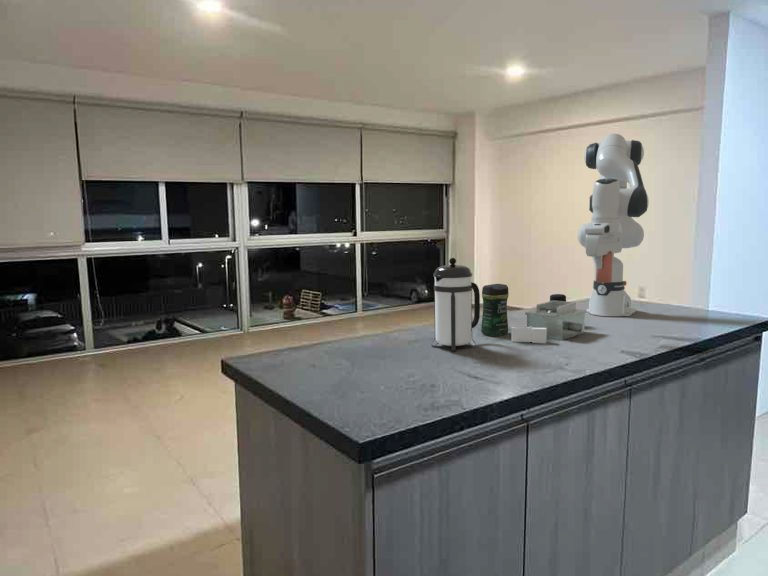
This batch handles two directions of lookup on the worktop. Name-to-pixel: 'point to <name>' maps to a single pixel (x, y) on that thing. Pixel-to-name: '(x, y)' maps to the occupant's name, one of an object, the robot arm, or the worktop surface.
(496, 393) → the worktop surface
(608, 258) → the spout can
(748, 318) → the worktop surface
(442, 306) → the coffee press
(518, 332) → the white stepped block
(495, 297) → the coffee jar
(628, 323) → the worktop surface
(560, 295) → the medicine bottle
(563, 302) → the pale green square box
